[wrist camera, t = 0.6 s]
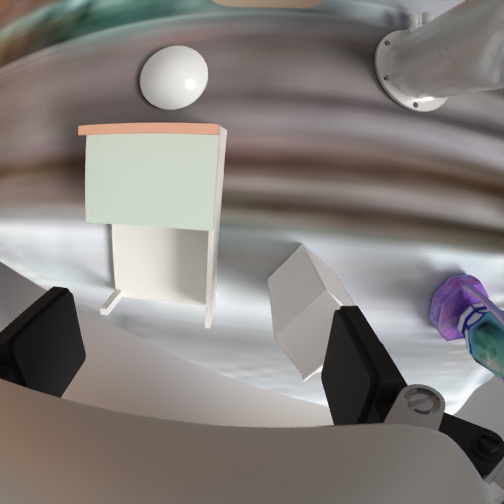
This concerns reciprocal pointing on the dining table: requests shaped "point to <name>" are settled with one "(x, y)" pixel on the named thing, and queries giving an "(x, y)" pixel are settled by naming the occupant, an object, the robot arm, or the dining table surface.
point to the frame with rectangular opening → (168, 260)
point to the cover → (152, 174)
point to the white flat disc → (174, 77)
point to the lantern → (470, 320)
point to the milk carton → (305, 308)
